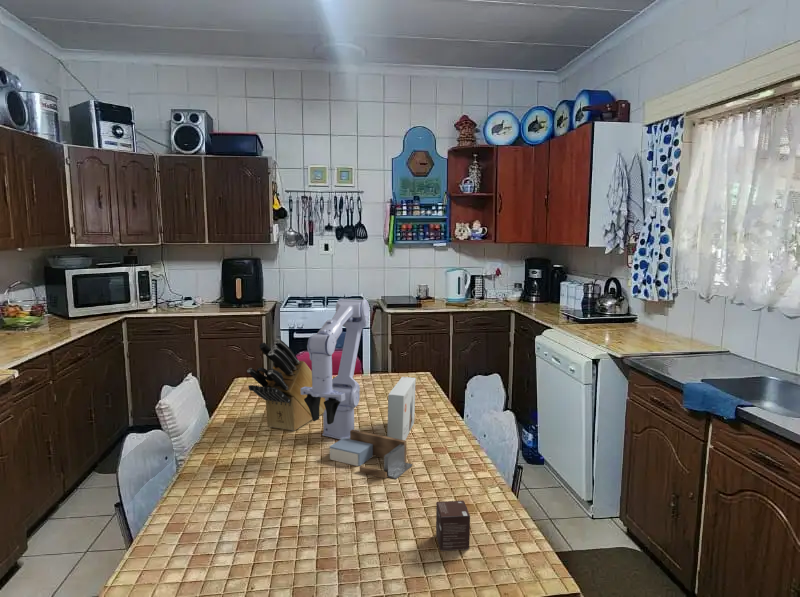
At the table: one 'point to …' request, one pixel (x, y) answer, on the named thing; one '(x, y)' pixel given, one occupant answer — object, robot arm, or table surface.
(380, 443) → the shelf
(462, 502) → the box
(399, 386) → the skincare box
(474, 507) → the table surface
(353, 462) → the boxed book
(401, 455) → the bookend
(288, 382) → the knife block
